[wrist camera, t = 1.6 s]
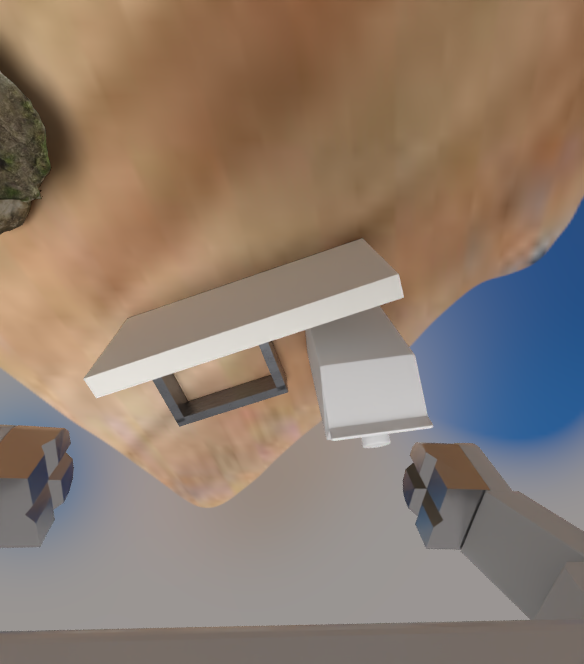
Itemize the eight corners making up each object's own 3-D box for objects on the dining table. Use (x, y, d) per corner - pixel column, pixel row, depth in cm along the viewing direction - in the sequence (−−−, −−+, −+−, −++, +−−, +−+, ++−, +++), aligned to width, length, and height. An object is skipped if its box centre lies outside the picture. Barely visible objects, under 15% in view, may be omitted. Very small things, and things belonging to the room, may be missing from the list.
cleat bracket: (255, 298, 43) (254, 309, 41) (286, 377, 48) (288, 392, 45) (142, 336, 44) (135, 349, 42) (183, 410, 49) (179, 426, 46)
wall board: (362, 238, 41) (398, 273, 31) (366, 256, 42) (403, 297, 31) (127, 318, 43) (83, 378, 32) (136, 334, 44) (96, 398, 33)
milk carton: (301, 295, 44) (328, 397, 26) (367, 286, 44) (435, 383, 27) (307, 353, 47) (334, 477, 30) (368, 345, 47) (431, 465, 30)
